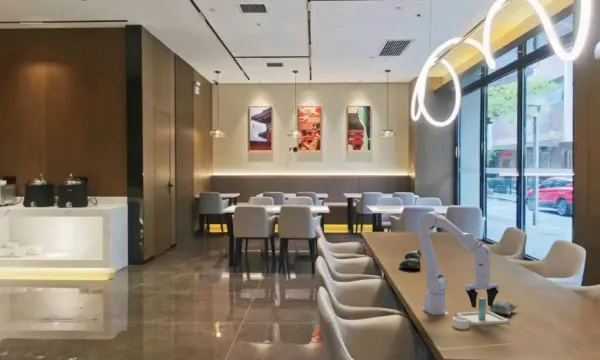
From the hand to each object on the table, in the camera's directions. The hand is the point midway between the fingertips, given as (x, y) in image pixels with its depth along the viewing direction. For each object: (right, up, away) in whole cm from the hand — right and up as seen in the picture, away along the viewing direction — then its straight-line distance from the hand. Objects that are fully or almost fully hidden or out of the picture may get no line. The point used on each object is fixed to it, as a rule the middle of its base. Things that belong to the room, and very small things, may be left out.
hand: (481, 306), depth 206 cm
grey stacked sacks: (-6, -4, +105) cm, 106 cm away
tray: (0, -6, 0) cm, 6 cm away
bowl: (-12, -6, -10) cm, 17 cm away
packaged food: (+14, -6, +11) cm, 18 cm away
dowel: (0, -5, 0) cm, 5 cm away
